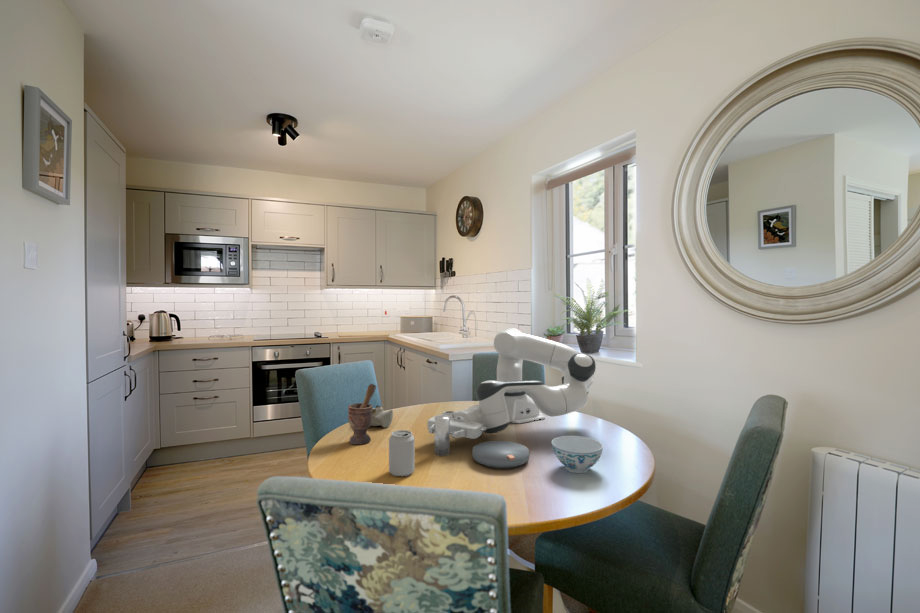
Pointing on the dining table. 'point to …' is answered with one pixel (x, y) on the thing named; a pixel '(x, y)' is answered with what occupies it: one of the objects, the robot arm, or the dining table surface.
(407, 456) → the can
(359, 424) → the mortar and pestle
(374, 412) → the ceramic sculpture
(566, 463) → the chinaware
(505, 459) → the disc
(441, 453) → the clear drinking glass
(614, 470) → the dining table surface
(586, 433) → the dining table surface
